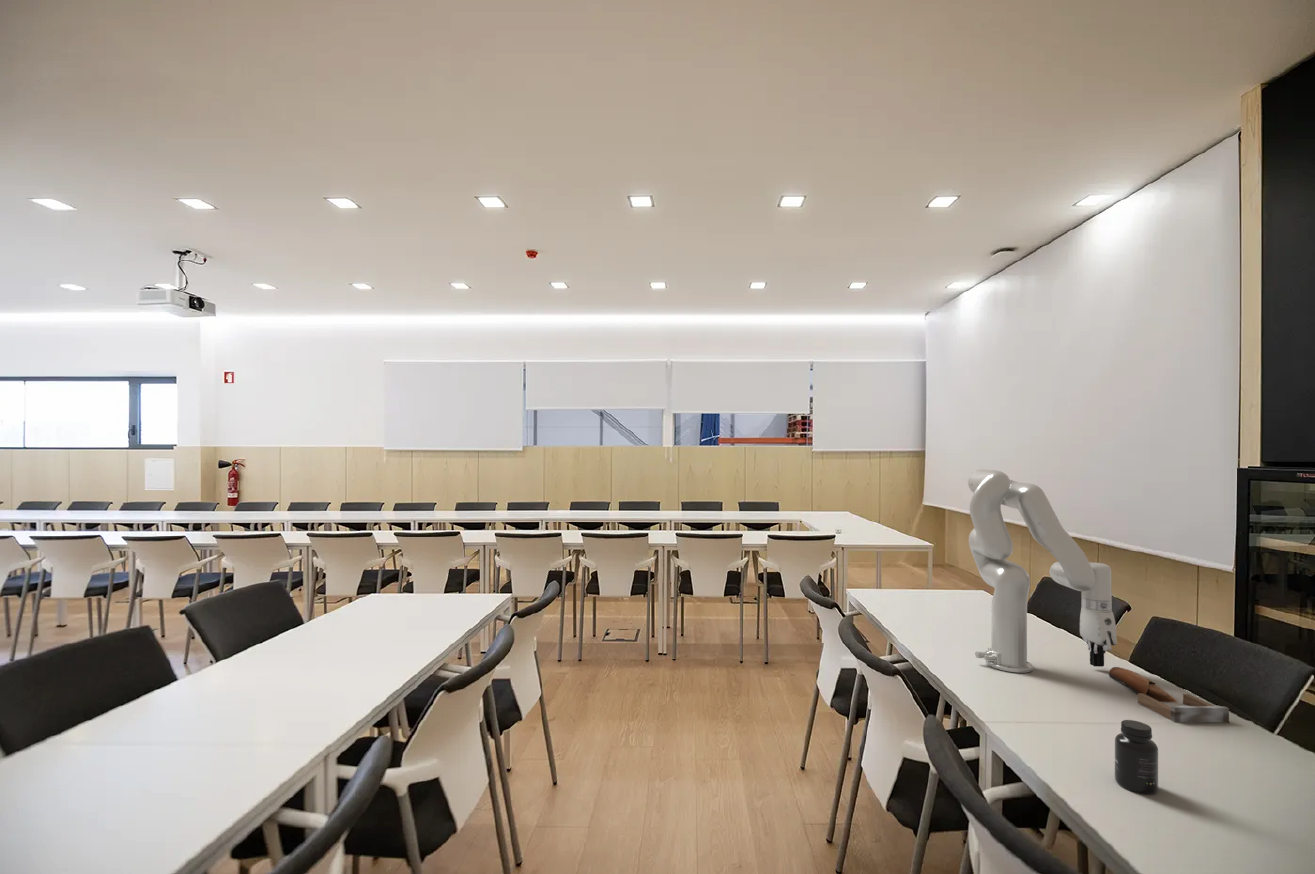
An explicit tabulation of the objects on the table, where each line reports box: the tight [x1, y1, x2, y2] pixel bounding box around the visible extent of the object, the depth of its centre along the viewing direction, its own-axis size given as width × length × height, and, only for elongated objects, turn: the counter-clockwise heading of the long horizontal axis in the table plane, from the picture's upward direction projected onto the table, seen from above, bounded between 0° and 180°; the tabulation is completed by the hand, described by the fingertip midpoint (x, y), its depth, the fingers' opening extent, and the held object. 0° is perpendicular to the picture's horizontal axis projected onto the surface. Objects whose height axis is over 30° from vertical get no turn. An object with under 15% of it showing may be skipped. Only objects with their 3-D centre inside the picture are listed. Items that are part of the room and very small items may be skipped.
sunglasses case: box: [1108, 666, 1179, 704], centre depth 175 cm, size 18×7×7 cm, turn 172°
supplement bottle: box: [1114, 719, 1159, 795], centre depth 124 cm, size 7×7×12 cm
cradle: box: [1137, 693, 1230, 723], centre depth 160 cm, size 13×12×4 cm
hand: (1097, 665), depth 191 cm, fingers closed
